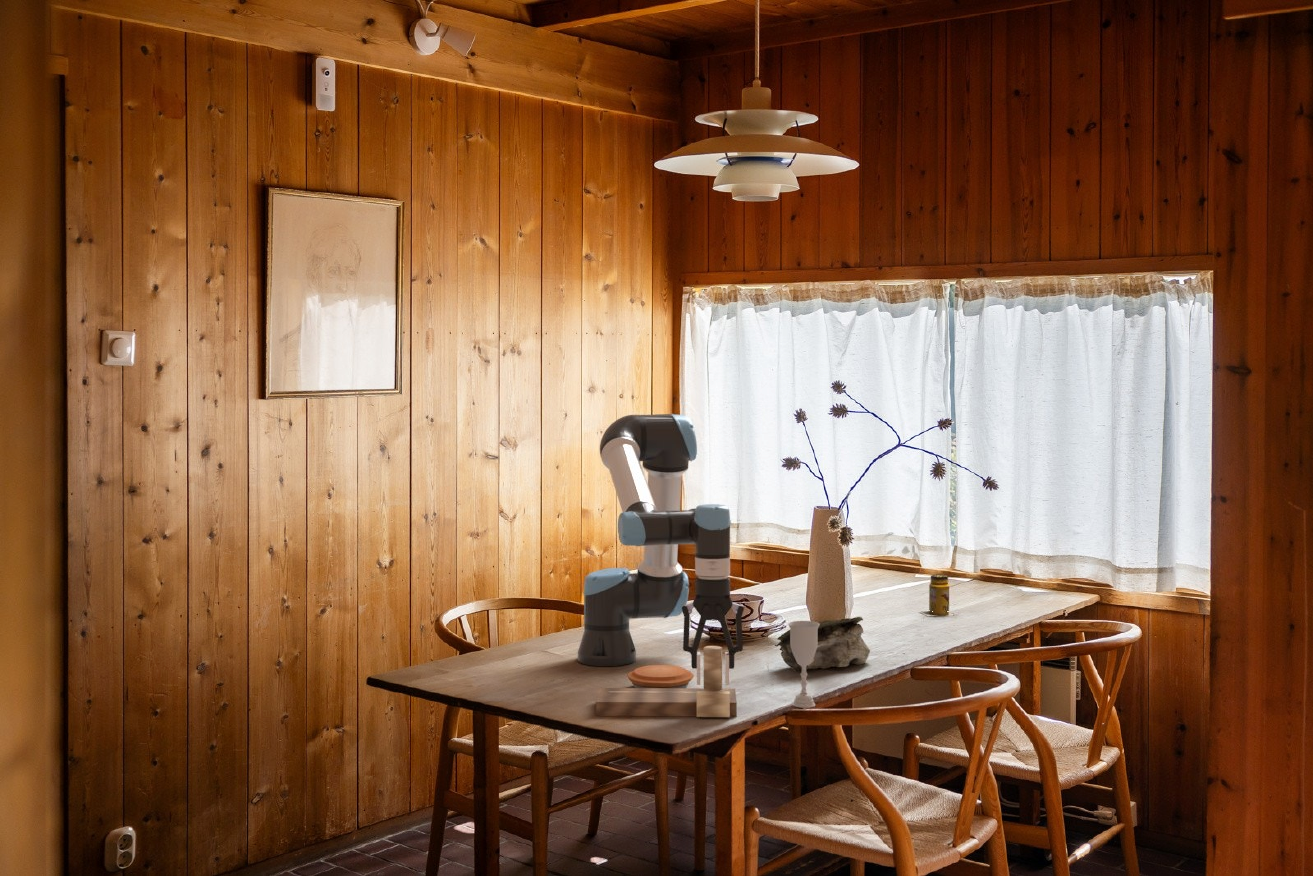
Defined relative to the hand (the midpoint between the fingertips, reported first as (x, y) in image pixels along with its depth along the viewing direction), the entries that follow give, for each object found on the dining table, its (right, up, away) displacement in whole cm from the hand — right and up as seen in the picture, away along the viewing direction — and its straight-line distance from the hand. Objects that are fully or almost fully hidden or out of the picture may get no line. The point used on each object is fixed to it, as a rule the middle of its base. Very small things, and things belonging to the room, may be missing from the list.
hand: (712, 683), depth 261 cm
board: (-10, -6, +3) cm, 12 cm away
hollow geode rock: (+29, -5, +42) cm, 52 cm away
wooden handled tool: (0, -6, 0) cm, 6 cm away
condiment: (+74, -2, +112) cm, 135 cm away
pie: (-11, -6, +20) cm, 24 cm away
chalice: (+20, -6, +6) cm, 22 cm away
